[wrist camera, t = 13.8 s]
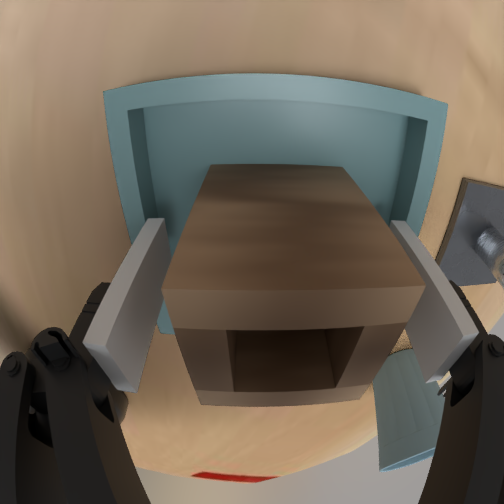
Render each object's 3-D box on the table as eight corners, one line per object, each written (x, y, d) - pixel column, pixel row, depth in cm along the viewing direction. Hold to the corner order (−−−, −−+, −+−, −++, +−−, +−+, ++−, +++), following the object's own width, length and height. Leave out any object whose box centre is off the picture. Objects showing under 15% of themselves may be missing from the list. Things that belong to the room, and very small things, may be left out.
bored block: (219, 269, 16) (201, 404, 9) (210, 164, 12) (161, 288, 6) (326, 269, 16) (359, 399, 9) (342, 166, 12) (426, 285, 6)
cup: (389, 338, 21) (422, 452, 12) (444, 341, 22) (478, 431, 14) (347, 382, 25) (363, 476, 17) (402, 381, 26) (422, 461, 18)
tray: (168, 307, 19) (160, 333, 17) (126, 86, 10) (103, 91, 9) (370, 306, 18) (379, 331, 17) (421, 96, 10) (448, 104, 8)
